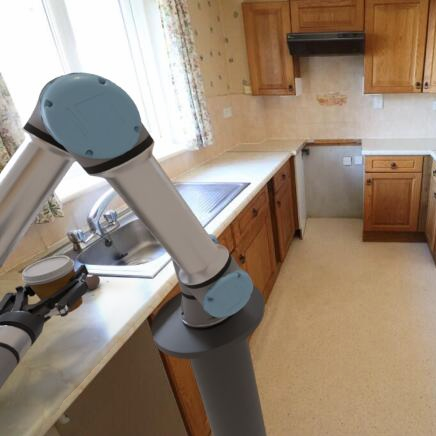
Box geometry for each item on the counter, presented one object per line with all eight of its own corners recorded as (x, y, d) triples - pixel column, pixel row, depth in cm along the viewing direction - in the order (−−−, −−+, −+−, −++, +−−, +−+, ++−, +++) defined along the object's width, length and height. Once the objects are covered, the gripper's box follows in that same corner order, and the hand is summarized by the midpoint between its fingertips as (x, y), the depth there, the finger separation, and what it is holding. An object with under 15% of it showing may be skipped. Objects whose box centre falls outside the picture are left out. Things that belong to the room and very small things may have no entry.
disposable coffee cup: (99, 295, 82) (82, 255, 77) (66, 322, 73) (44, 279, 68) (68, 293, 83) (48, 253, 78) (31, 318, 75) (7, 276, 70)
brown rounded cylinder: (101, 283, 102) (97, 272, 100) (90, 292, 98) (84, 280, 96) (67, 280, 104) (61, 269, 102) (54, 289, 100) (48, 277, 98)
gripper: (-50, 368, 59) (21, 293, 79) (80, 341, 63) (116, 276, 83) (-74, 337, 56) (7, 267, 76) (65, 311, 60) (106, 251, 80)
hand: (64, 272), depth 79 cm, fingers closed on disposable coffee cup, 8 cm apart
